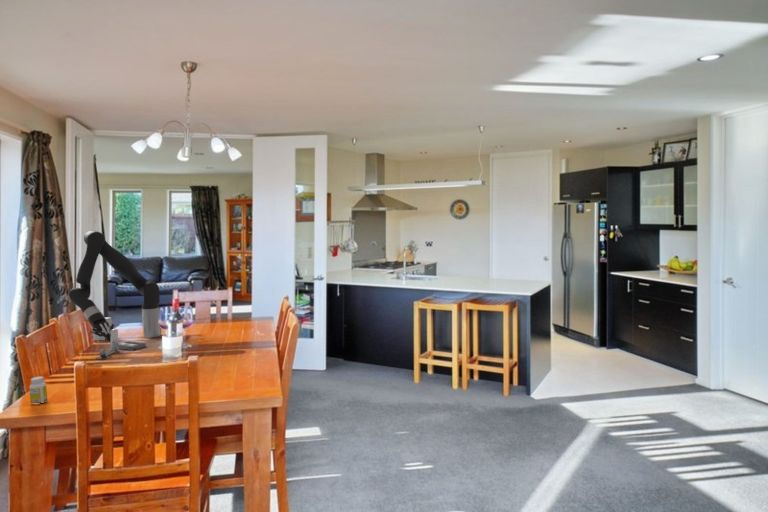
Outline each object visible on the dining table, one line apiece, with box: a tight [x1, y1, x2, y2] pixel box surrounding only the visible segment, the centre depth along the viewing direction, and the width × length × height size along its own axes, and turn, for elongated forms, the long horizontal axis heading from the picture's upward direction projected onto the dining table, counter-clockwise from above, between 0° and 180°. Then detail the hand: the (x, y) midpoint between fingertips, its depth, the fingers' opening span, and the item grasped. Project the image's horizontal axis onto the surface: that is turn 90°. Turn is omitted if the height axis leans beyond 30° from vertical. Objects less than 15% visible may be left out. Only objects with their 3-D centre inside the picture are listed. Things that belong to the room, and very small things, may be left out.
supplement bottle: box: [29, 376, 48, 404], centre depth 195 cm, size 5×5×10 cm
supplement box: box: [92, 316, 113, 342], centre depth 303 cm, size 7×7×13 cm
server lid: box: [118, 340, 147, 351], centre depth 281 cm, size 9×14×2 cm, turn 65°
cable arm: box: [99, 328, 120, 357], centre depth 266 cm, size 14×4×11 cm, turn 0°
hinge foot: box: [96, 355, 113, 361], centre depth 260 cm, size 6×6×1 cm
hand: (111, 340), depth 273 cm, fingers closed
